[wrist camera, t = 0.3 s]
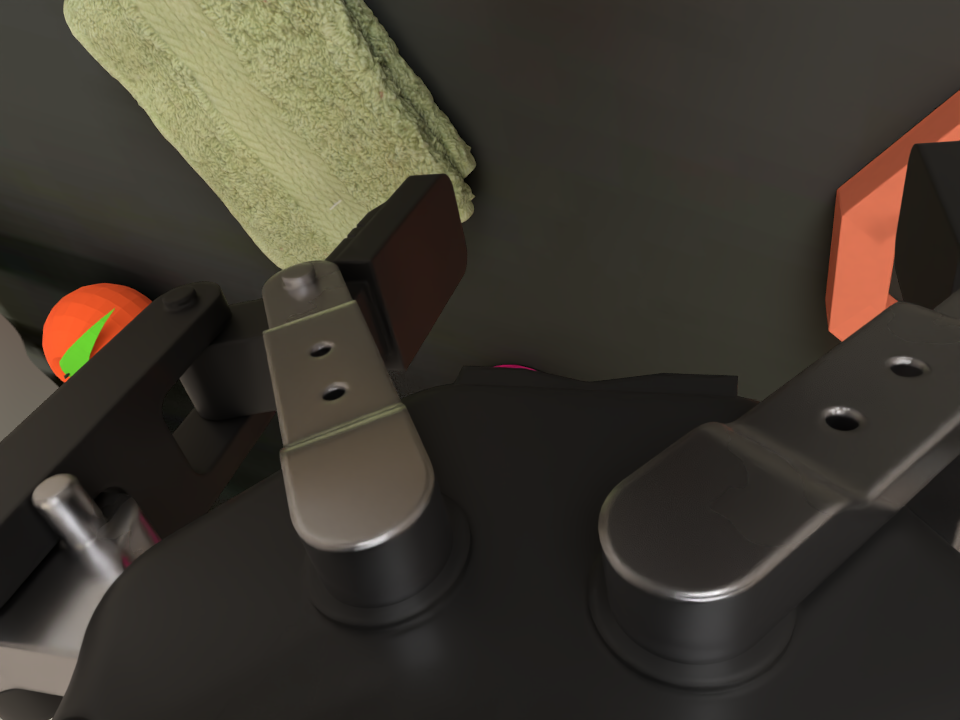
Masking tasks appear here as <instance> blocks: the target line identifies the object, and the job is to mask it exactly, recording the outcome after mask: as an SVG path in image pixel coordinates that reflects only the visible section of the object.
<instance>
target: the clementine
mask: <svg viewBox="0 0 960 720" xmlns="http://www.w3.org/2000/svg"><path fill="white" fill-rule="evenodd" d="M151 302H152V301H151V300H150V299H149V298H148V297H146V296H145V295H143V294H141V293H140V292H138V291H136V290H135V289H132V288H130V287H127V286H123V285H117V284H109V283H100V284H94V285H88V286H83V287H81V288H79V289H77V290H75V291H73V292H72V293H70V294H68V295H66V296H65V297H63V298H62V299H61V300H60V301H59V302H58V303H57V304H56V305H55V306H54V307H53V309H52V310H51V312H50V314H49V315H48V318H47V320H46V322H45V324H44V328H43V345H42V346H43V350H44V353H45V356H46V358H47V361H48V363H49V365H50V367H51V369H52V370H53V372H54V373H55V374H56V375H57V376H58V377H59V378H60V379H61V380H62V381H63V382H64V383H65V382H66V381H67V380H68V379H69V378H70V377H71V376H72V375H73V374H75V373H76V372H77V371H78V370H79V369H80V368H81V367H82V366H83V365H84V364H85V363H86V362H88V361H89V360H90V359H91V358H92V357H93V356H94V355H95V354H96V353H97V352H98V351H99V350H100V349H102V348H103V347H104V346H105V345H106V344H107V343H108V342H109V341H110V340H111V339H112V338H113V337H114V336H116V335H117V334H118V333H119V332H120V331H121V330H122V329H123V328H124V327H125V326H126V325H127V324H129V323H130V322H131V321H132V320H133V319H134V318H135V317H136V316H137V315H138V314H139V313H140V312H141V311H143V310H144V309H145V308H146V307H147V306H148V305H149V304H150V303H151Z"/></svg>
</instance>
